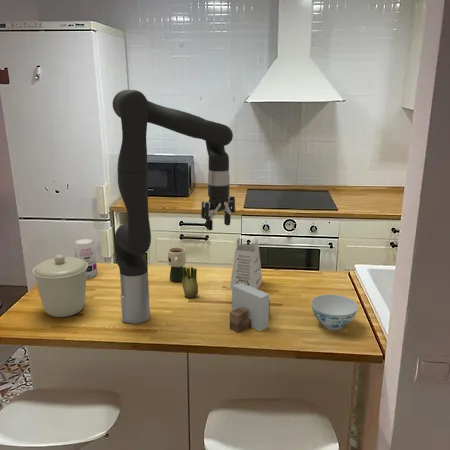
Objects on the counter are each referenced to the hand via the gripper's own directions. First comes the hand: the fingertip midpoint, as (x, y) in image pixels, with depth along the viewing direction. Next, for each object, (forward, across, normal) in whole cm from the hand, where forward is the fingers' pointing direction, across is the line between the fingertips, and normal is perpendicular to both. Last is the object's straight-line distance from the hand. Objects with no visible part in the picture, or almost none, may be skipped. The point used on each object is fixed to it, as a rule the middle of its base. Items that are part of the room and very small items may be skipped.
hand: (218, 227), depth 166 cm
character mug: (+28, 0, +24) cm, 37 cm away
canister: (+28, -46, +31) cm, 62 cm away
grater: (+28, +17, +2) cm, 33 cm away
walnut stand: (+28, -4, -20) cm, 35 cm away
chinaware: (+28, +14, -41) cm, 52 cm away
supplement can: (+28, -25, +54) cm, 66 cm away
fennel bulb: (+28, -6, +9) cm, 30 cm away
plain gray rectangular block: (+28, -4, -20) cm, 35 cm away
